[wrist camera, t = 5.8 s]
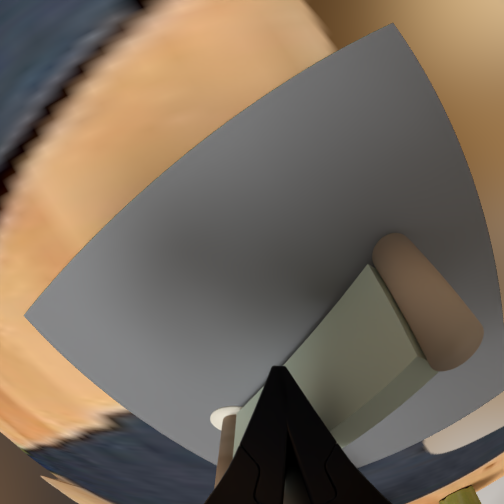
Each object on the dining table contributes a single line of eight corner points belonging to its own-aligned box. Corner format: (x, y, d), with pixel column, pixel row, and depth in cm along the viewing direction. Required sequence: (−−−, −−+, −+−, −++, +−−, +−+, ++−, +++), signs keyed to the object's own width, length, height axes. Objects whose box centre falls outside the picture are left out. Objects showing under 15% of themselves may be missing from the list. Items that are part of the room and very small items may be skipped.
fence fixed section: (337, 473, 19) (343, 532, 14) (319, 479, 20) (323, 536, 15) (239, 409, 15) (232, 503, 10) (217, 417, 16) (205, 505, 11)
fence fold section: (260, 420, 15) (257, 503, 10) (233, 412, 15) (225, 497, 10) (419, 246, 10) (493, 332, 6) (389, 224, 10) (464, 311, 5)
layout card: (504, 387, 15) (505, 390, 15) (272, 489, 21) (272, 492, 21) (390, 23, 7) (394, 21, 7) (25, 313, 13) (22, 316, 13)
